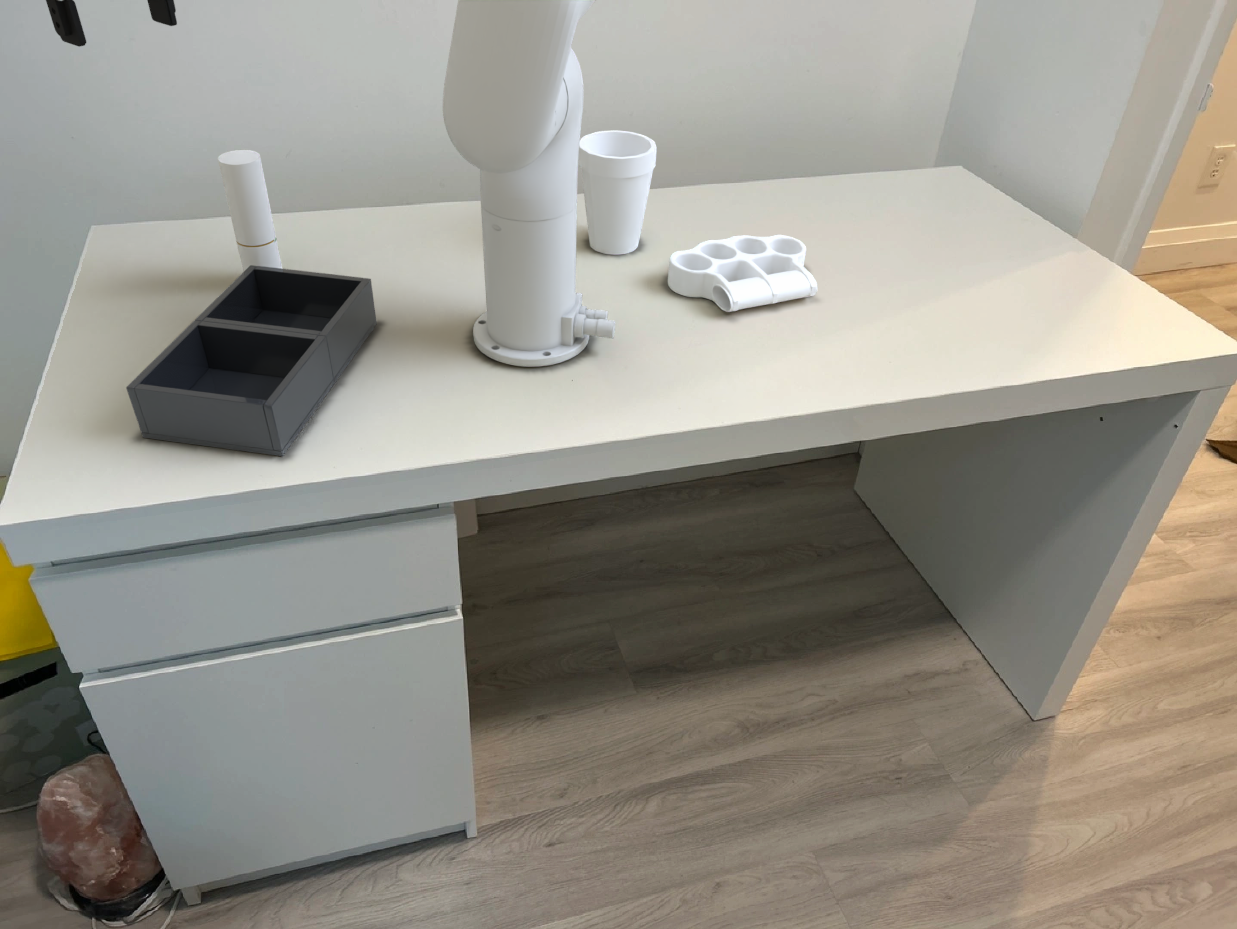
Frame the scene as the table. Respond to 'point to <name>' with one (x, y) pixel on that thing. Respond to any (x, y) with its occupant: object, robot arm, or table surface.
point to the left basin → (233, 387)
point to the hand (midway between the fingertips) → (121, 32)
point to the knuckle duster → (743, 271)
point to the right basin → (301, 307)
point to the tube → (249, 208)
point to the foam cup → (616, 187)
